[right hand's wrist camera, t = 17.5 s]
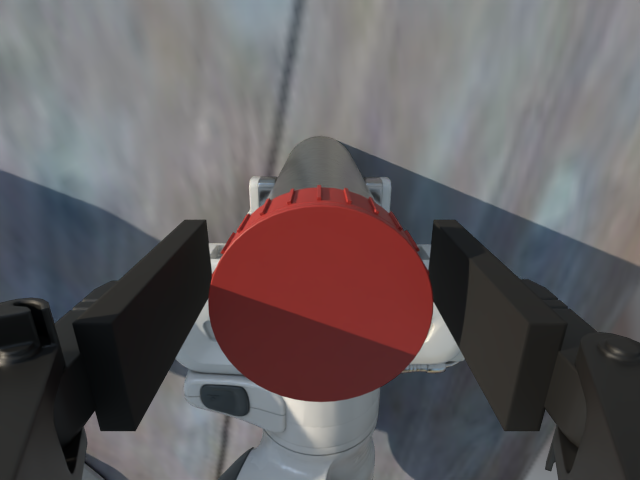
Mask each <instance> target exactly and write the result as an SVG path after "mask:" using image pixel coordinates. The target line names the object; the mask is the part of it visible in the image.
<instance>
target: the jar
mask: <svg viewBox="0 0 640 480" xmlns="http://www.w3.org/2000/svg"><path fill="white" fill-rule="evenodd" d="M317 185H321V187H325V188H336V189H341V190H344V188H348V190H349V191H350V192H353V193H356V194H359V195H362V196H364V197H366V198H369V197H371V198H373V196H372V194H371V192H370V190H369V188H368V186H367V184H366V183H365V181H364V179H363V177H362V175H361V173H360V171H359V169H358V167H357V165H356V164H355V162H354V160H353V158H352V156H351V154H350V152H349V151H348V150H347V148H346V147H345V146H344V145H342V144H341V143H340V142H338V141H337V140H334V139H332V138H329V137H321V136H318V137H312V138H309V139H306V140H304V141H302V142H301V143H299V144H298V145H297V146H296V147H295V148H294V149H293V150H292V152H291V153H290V155H289V157H288V159H287V161H286V163H285V165H284V167H283V168H282V170H281V172H280V174H279V176H278V178H277V180H276V182H275V184H274V186H273V188H272V190H271V192H270V194H269V196H268V198H270V200H272V199H274V198H276V197H278V196H280V195H283V194H286V193H288V192H290V190H291V189H293V188H294V189H295V190H300V189H305V188H317ZM268 198H267V199H268ZM373 200H374V198H373ZM374 202H375V200H374ZM375 203H376V202H375Z"/></svg>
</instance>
